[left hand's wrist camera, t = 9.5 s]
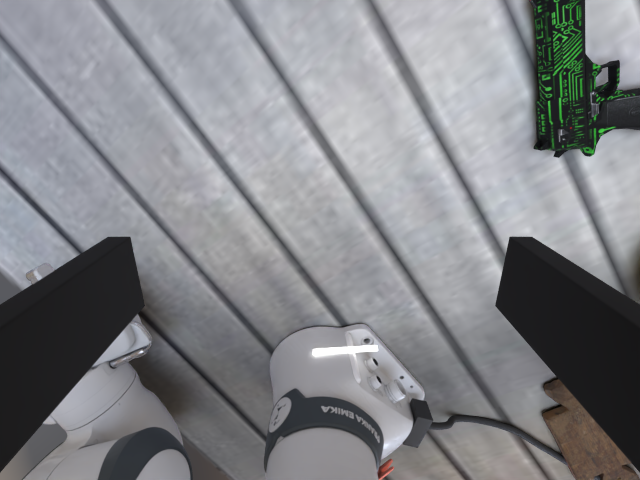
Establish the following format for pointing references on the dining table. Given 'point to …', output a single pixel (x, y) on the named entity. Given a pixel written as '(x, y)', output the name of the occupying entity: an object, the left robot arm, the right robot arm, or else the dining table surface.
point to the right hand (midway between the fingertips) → (0, 285)
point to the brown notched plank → (583, 439)
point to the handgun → (575, 84)
